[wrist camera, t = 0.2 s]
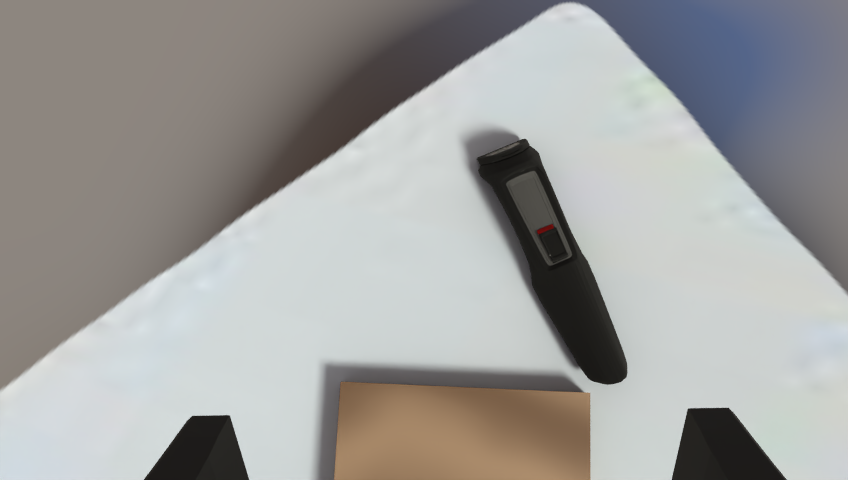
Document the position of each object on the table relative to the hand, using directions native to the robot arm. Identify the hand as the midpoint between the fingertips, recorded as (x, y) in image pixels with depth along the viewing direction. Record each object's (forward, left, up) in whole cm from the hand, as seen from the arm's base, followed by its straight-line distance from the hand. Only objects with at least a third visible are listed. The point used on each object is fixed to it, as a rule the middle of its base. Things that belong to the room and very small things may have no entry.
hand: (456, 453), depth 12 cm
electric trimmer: (+9, -6, -32) cm, 33 cm away
